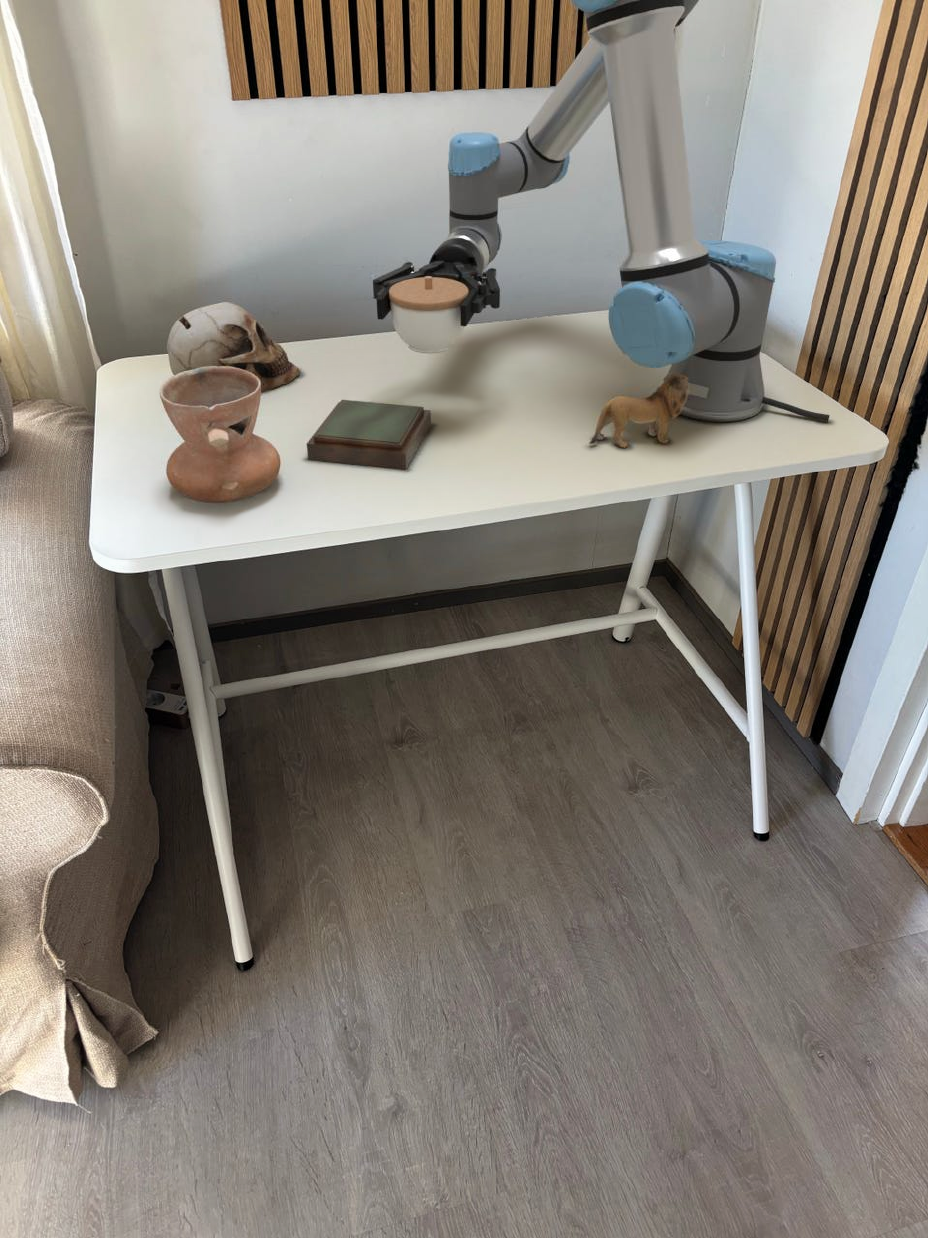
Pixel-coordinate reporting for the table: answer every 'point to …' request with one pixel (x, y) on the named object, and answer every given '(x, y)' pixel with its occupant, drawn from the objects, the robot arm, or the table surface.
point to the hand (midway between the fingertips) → (421, 312)
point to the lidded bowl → (428, 312)
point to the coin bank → (228, 345)
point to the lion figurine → (646, 409)
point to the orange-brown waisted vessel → (217, 435)
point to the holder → (370, 434)
